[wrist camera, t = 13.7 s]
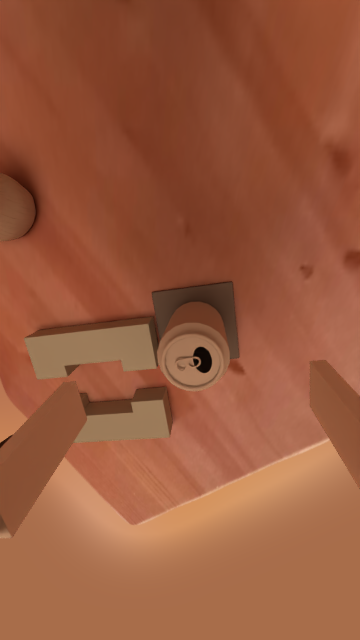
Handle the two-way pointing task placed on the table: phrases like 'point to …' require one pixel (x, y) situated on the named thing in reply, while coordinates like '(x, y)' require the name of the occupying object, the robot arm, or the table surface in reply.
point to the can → (194, 347)
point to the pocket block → (101, 346)
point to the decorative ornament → (14, 209)
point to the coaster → (210, 294)
